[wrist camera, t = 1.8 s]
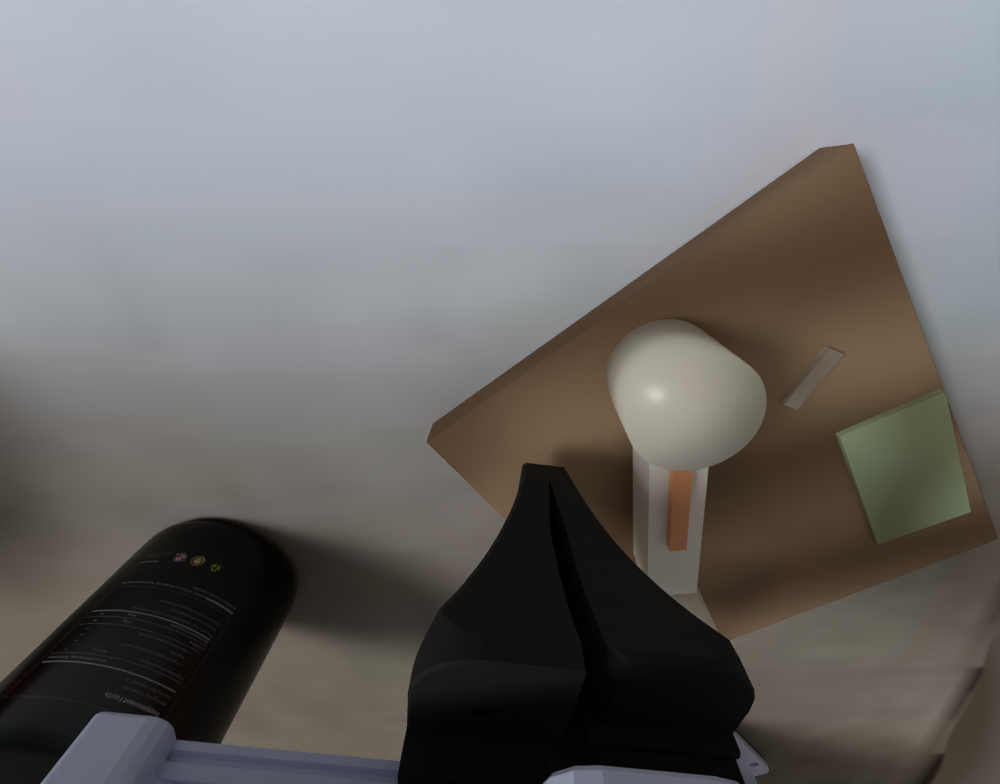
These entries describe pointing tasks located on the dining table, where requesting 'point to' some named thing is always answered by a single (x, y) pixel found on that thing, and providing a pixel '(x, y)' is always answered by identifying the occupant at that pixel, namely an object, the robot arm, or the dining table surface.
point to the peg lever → (679, 440)
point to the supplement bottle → (152, 646)
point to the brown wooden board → (789, 411)
